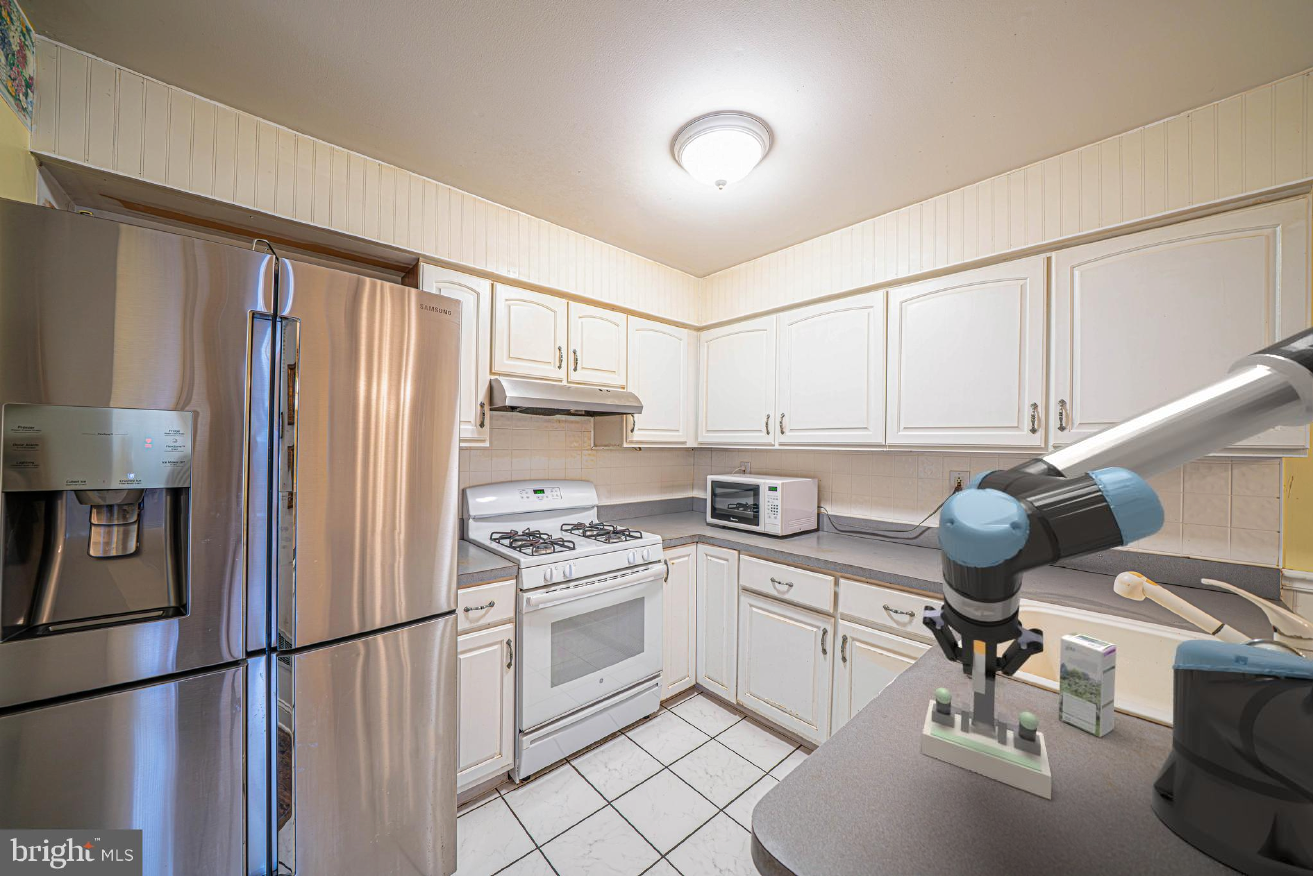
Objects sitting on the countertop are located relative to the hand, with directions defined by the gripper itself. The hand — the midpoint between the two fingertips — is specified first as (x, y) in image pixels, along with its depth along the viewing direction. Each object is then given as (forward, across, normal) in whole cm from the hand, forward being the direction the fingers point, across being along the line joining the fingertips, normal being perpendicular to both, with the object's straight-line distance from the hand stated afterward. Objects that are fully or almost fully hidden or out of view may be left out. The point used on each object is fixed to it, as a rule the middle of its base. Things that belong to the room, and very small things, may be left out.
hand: (979, 683), depth 69 cm
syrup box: (+26, +15, +9) cm, 31 cm away
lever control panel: (+11, +1, -6) cm, 12 cm away
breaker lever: (+8, +1, -2) cm, 8 cm away
